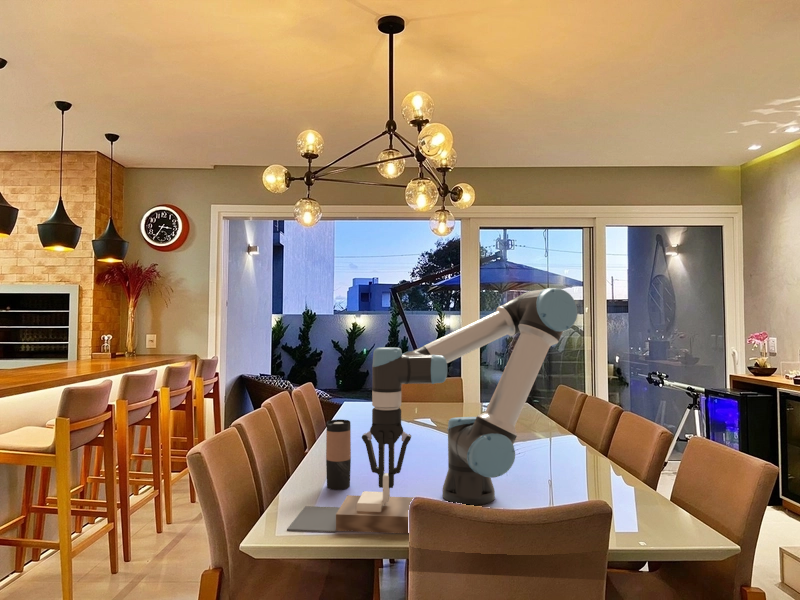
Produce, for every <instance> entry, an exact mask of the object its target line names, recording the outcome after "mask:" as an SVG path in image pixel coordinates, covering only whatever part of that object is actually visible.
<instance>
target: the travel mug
mask: <svg viewBox="0 0 800 600" xmlns="http://www.w3.org/2000/svg"><path fill="white" fill-rule="evenodd" d="M351 426H352V425H351V421H350V420H347V419H332V420H331V419H330V420H328V421H326V432H325V433H326V441H325V442H326V443H325V444H326V447H325V448H326V449H325V453H326V455H325V463H326V464H325V468H326V471H325V472H326V488H327V489H328V490H332V491H333V490H334V491H342V490H346V489H349V488H350V486H351V465H352V463H351V459H352V456H351V455H352V447H351V445H352V442H351V438H352V437H351V430H352V429H351Z"/></svg>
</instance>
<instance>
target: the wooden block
mask: <svg viewBox="0 0 800 600" xmlns="http://www.w3.org/2000/svg"><path fill="white" fill-rule="evenodd" d="M360 497H361V495H349V494H348V495H346V497H345V499H344V500H343V502H342V504H341V505H340V506H339V507H340V508H339V510H338V512H337V513H336V532H353V533H354V532H357V533H359V532H360V533H381V534H383V533H384V534H407V535H408V510H409V505H410V502H411V501H412V499H413V498H415V497H413V496H412V497H411V496H409V497H408V496H390V499H389V502H385V503H384V505H383V508H382V511H381V512H364V511H357V502H358V500H359V499H360Z"/></svg>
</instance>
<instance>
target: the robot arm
mask: <svg viewBox="0 0 800 600" xmlns="http://www.w3.org/2000/svg"><path fill="white" fill-rule="evenodd" d="M577 318H578V306H577V304H576V301H575V299H574V297H573V296H572V295H571V294H570V293H569V292H568V291H566V290H564V289H562V288H555V287H547V288H544V289H538V290H530V291H527V292H524V293H522V294H520V295H518V296H516V297H515V298H513V299H511V300H509V301H508V302H506V303H504V304H502V305H500V306H498V307H497V308H496V310H495V311H494V312H493V313H490V314H488V315H486V316H484V317H482V318H480V319H478V320H476V321H473V322H472V323H469V324H468V325H465V326H463V327H461V328H458V329H456V330H455V331H452V332H450V333H448V334H446V335H444V336H442V337H440V338H438V339H435V340H433V341H431V342H429V343H427V344H425V345H423V346H421V347H418V348H416V349H414V350H410V351H406V352H404V353H402V349H401V348H400V347H385V346H384V347H383V346H382V347H376V348H375V349H374V350H373V354H372V366H371V367H372V390H371V391H372V392H371V393H372V395H371V397H372V399H371V404H372V410H371V412H372V414H371V415H372V417H371V418H372V419H371V422H372V423H371V426H370V429H369V431H367V432H365V433H363V434H362V436H361V439H362V441H363V443H364V444H365V447H366V448H365V449H366V452H367V457H368V461H369V465H370V469H371V472H372V473H375V474H377V476H378V487H379V488H380V489H382V492H383V502H389V499H390V497H391V496H390V495H391V492H390V491H391V489H393V488H394V486H395V475H396V474H400V473H401V470H402V468H403V467H402V466H403V462H404V459H405V455H406V450H407V446H408V445H409V443H410V441H411V439H412V435H411V434H410V433H409V434H408V433H407V432H405V431H404V427H403V426H402V409H401V406H402V386H403V385H408V384H411V385H412V384H414V385H417V384H419V385H421V384H423V385H424V384H425V385H427V384H429V385H434V384H442V383H443V384H444V382H446V380H447V377H448V364H449V363H452V362H453V361H456V360H457V359H459V358H461V357H463V356H465V355H467V354H470V353H471V352H473V351H475V350H478V349H480V348H482V347H484V346H486V345H488V344H490V343H492V342H495V341H496V340H499V339H501V338H503V337H506V336H507V335H508V336H510V337H513V336H515V335H517V334H519V337H518V339H517V340H516V343H515V345H514V347H513V349H512V352H511V354H510V356H509V359H508V361H507V362H506V366H505V367H504V370H503V371H502V374H501V376H500V378H499V380H498V383H497V385H496V387H495V390H494V391H493V393H492V396H491V398H490V401H489V403H488V405H487V407H486V410H485V411H484V412H483V413H480V414H477V416H460V417H459V416H458V417H457V416H456V417H451V418H449V420H448V422H447V429H446V430H447V455H448V459H447V463H448V467H447V468H448V469H447V473H446V476H445V479H444V482H443V485H442V498H443V499H444V500H446V501H448V502H449V501H450V503H452V502H457V503H462V504H470V505H469V506H482V505H486V504H489V503H492V502H493V501H494V500H495V498H496V495H495V494H496V493H495V488H494V484H493V481H492V478H493V479H494V478H498V477H502V476H504V475H505V474H506V473H508V471H509V470H511V468H512V466H513V465H514V463H515V460H516V459H515V458H516V450H515V446H514V444H515V442H516V439H517V437H518V433H517V429H516V424H517V422H518V420H519V417H520V415H521V413H522V410H523V408H524V407H525V404H526V402H527V400H528V397H529V396H530V392H531V390H532V389H533V386H534V383H535V381H536V379H537V377H538V376H539V375H538V374H539V372H540V370H541V368H542V365H543V363H544V361H545V359H546V356H547V355H548V352H549V349H550V348H551V346H554V345H556V344H558V343H559V342H560V339H561V337H562V334H563V332H565V331H568V330H569V329H570V328H572V326H573V325H575V322H576V321H577ZM372 437H373V438H374V439H375V441H376V442H377V444H378V447H377V448H378V464H377V460H376V456H375V454H376V453H375V451H374V447H373V441H372ZM400 437H401V442H402V444H401V447H400V451H399V454H398V455H399V456H398V461H397V464H396V467H395V446H396V445H395V444H396V443H397V441H398V440H399V439H400ZM385 445H388V472H385V470H386V469H385V452H386V451H385ZM478 504H480V505H478Z"/></svg>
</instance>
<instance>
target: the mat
mask: <svg viewBox="0 0 800 600" xmlns="http://www.w3.org/2000/svg"><path fill="white" fill-rule="evenodd" d="M340 507H341V506H317V505H316V506H313V505H305V506H304V507H303V509H301V511H300V512H299V514H298V515H296V517H295V518H294V520H293V521H292V522H291V523H290V524H289V526H288V527H287V528H286V531H288V532H290V531H291V532H311V533H313V532H314V533H333V534H334V533H336V532H337V531H336V513H337V512H338V510H339V508H340Z"/></svg>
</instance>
